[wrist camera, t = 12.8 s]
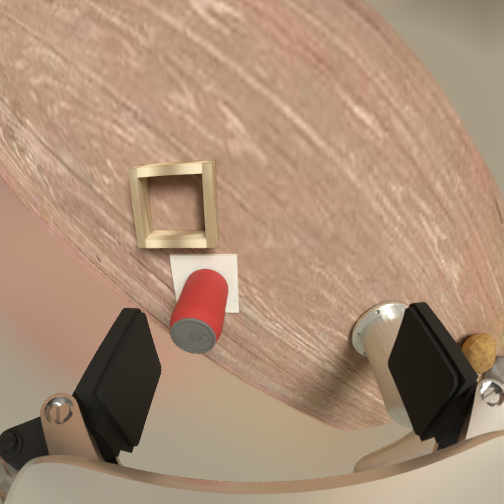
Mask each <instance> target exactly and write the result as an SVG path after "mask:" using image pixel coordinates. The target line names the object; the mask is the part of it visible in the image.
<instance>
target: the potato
mask: <svg viewBox="0 0 504 504" xmlns="http://www.w3.org/2000/svg"><path fill="white" fill-rule="evenodd" d="M462 352H463V354H464V355H465V357H466V358H467V360H468V361H469V363H470V364H471V366H472V367H473V369H474V370H475V372H476V373H478V374H480V373H484V372H486V371H488V370H489V369H490V368H491V367H492V366H493V364H494V362H495V357H496V345H495V340H494V339H493V337H492V336H491V335H489V334H486V333H482V334H473V335H472V336H470V337H469V338H467V340H466V341H465V342H464V344H463V346H462Z"/></svg>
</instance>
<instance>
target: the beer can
mask: <svg viewBox="0 0 504 504" xmlns="http://www.w3.org/2000/svg"><path fill="white" fill-rule="evenodd" d="M228 292H229V290H228V284H227V282H226V279H225V278H224V277H223V276H222V275H221V274H220V273H218V272H216V271H214V270H211V269H200V270H196V271H194V272H193V273H191V274H190V275H189V277H188V278H187V280H186V282H185V285H184V287H183V289H182V292H181V294H180V296H179V299H178V301H177V304H176V306H175V308H174V311H173V313H172V316H171V321H170V327H171V331H170V335H171V339H172V340H173V342H174V343H175V344H176V345H177V346H178V347H179V348H180V349H183V350H184V351H186V352H190V353H197V354H200V353H205V352H207V351H209V350H211V349H212V348H213V347H214V345H215V342H216V341H217V340H218V339H219V337H220V335H221V332H222V328H223V322H224V316H225V310H226V304H227V298H228Z"/></svg>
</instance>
